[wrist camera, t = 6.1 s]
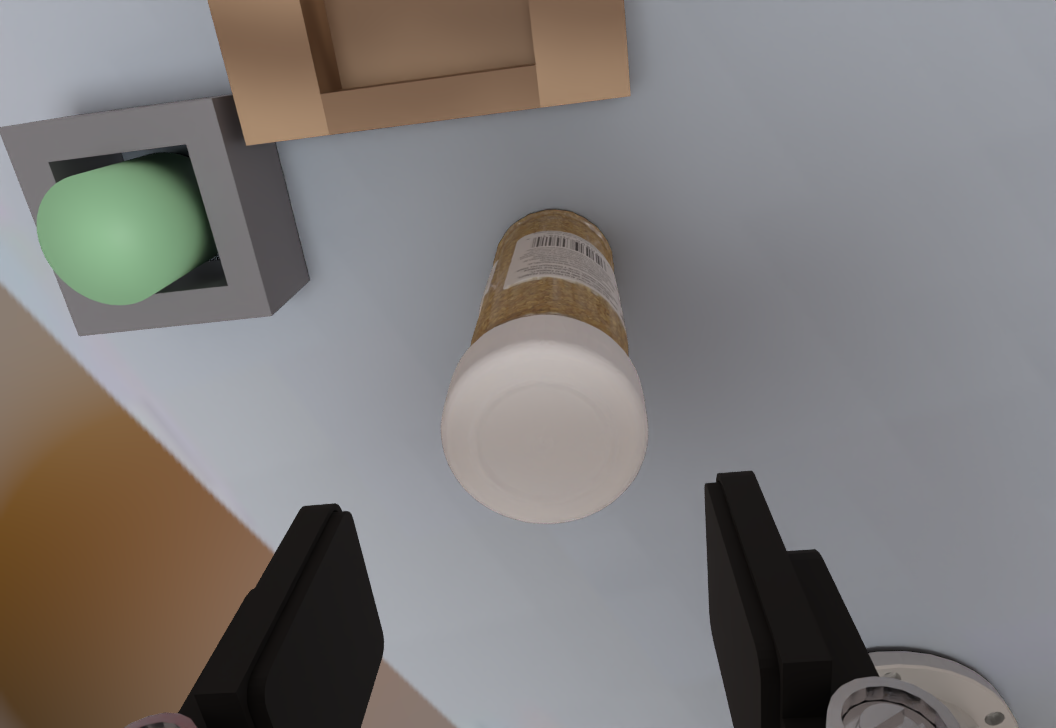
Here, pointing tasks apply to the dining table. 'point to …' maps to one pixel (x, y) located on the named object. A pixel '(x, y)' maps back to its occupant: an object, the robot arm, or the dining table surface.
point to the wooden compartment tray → (412, 60)
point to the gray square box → (227, 192)
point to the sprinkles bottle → (547, 379)
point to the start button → (126, 228)
